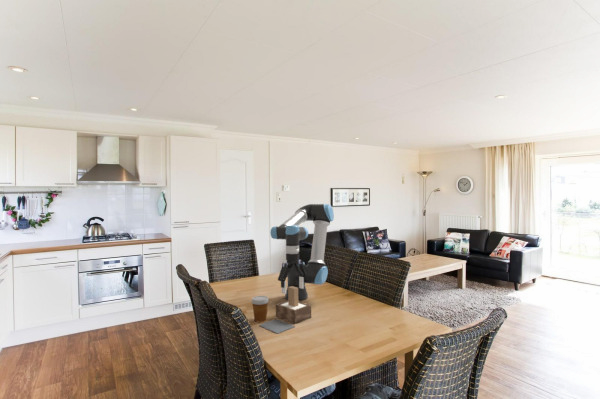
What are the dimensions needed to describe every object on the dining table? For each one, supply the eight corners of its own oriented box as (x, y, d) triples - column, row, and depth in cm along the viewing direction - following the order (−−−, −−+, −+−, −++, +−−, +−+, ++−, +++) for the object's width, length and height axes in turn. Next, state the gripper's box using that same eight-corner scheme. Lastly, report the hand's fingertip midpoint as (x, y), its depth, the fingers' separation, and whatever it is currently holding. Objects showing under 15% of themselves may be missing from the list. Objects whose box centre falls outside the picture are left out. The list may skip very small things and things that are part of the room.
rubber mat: (258, 325, 174) (258, 325, 174) (276, 319, 183) (276, 318, 183) (277, 334, 164) (277, 333, 164) (295, 326, 172) (295, 326, 172)
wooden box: (275, 316, 187) (275, 304, 187) (292, 310, 196) (291, 299, 196) (295, 324, 176) (295, 310, 176) (311, 317, 185) (311, 305, 185)
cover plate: (280, 306, 187) (280, 287, 187) (292, 302, 194) (291, 283, 193) (294, 311, 179) (294, 291, 179) (306, 307, 185) (306, 287, 185)
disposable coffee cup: (252, 324, 177) (252, 301, 177) (250, 317, 186) (250, 296, 186) (270, 322, 179) (270, 300, 179) (267, 315, 189) (267, 294, 188)
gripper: (280, 256, 174) (280, 296, 174) (312, 250, 192) (312, 287, 192) (271, 254, 179) (271, 294, 179) (303, 249, 197) (303, 285, 197)
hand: (292, 290), depth 186 cm, fingers open, 13 cm apart
